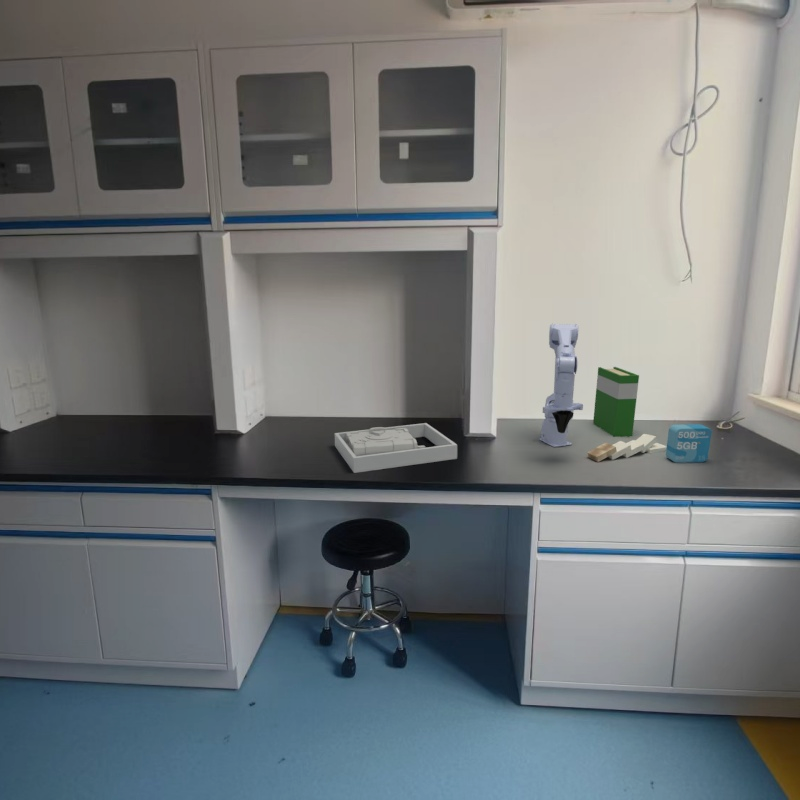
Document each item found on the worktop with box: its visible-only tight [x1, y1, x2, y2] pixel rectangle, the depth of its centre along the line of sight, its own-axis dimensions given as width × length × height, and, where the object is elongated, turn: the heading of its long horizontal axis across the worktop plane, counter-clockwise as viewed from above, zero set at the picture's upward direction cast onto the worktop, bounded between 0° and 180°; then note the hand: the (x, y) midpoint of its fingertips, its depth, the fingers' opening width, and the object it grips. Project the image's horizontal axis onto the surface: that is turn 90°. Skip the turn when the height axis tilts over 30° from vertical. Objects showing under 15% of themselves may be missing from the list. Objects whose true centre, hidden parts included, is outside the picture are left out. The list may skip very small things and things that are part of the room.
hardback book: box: [592, 366, 640, 438], centre depth 203 cm, size 18×7×24 cm, turn 5°
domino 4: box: [635, 433, 658, 454], centre depth 182 cm, size 5×2×8 cm
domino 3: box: [620, 439, 645, 459], centre depth 178 cm, size 5×2×8 cm
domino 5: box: [644, 442, 667, 454], centre depth 182 cm, size 5×2×8 cm
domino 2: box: [607, 440, 631, 461], centre depth 176 cm, size 5×2×8 cm
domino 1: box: [586, 442, 617, 463], centre depth 174 cm, size 5×2×8 cm
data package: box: [665, 423, 712, 463], centre depth 171 cm, size 12×4×12 cm, turn 91°
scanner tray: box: [334, 422, 458, 474], centre depth 181 cm, size 27×36×5 cm
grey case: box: [345, 426, 426, 456], centre depth 182 cm, size 19×28×8 cm
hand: (561, 432), depth 171 cm, fingers closed
